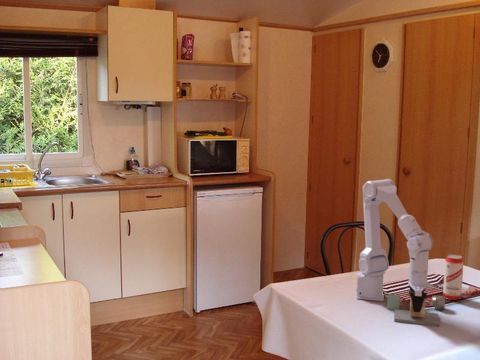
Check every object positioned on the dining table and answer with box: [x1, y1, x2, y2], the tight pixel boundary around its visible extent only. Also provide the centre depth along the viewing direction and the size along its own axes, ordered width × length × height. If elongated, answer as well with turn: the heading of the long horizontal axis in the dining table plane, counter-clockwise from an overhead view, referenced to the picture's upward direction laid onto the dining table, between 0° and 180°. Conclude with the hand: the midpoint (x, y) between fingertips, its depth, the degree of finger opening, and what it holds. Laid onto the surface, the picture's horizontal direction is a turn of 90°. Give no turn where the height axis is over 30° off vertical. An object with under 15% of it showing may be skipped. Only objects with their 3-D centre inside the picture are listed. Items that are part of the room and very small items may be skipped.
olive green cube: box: [386, 293, 401, 311], centre depth 193 cm, size 4×4×4 cm
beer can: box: [442, 253, 464, 300], centre depth 199 cm, size 6×6×16 cm
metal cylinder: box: [430, 294, 446, 312], centre depth 191 cm, size 4×4×4 cm
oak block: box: [409, 296, 426, 317], centre depth 183 cm, size 4×4×6 cm
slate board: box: [393, 309, 440, 327], centre depth 183 cm, size 14×8×1 cm, turn 74°
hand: (416, 308), depth 183 cm, fingers closed on oak block, 4 cm apart
